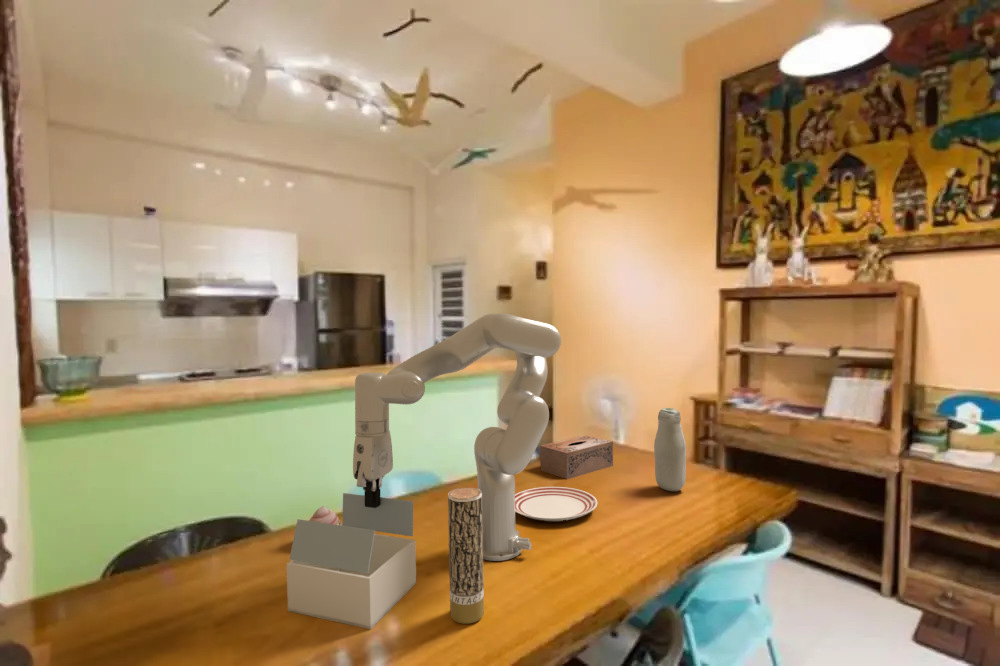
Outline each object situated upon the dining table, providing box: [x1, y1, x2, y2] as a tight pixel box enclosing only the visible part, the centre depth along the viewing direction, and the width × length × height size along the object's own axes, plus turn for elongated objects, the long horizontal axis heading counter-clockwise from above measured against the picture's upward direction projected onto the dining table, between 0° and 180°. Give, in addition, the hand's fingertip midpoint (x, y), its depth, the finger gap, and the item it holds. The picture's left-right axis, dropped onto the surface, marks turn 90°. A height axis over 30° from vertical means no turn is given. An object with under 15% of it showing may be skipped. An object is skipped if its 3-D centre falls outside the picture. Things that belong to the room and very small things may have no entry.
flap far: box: [341, 492, 414, 537], centre depth 119 cm, size 19×8×1 cm
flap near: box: [289, 519, 376, 573], centre depth 104 cm, size 19×8×1 cm
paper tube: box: [447, 487, 485, 625], centre depth 103 cm, size 7×7×25 cm
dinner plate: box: [515, 486, 598, 522], centre depth 159 cm, size 28×27×3 cm
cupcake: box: [308, 505, 343, 526], centre depth 138 cm, size 9×9×10 cm
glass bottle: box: [653, 407, 687, 493], centre depth 174 cm, size 10×10×28 cm
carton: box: [286, 533, 417, 630], centre depth 111 cm, size 20×18×10 cm
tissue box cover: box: [539, 434, 614, 480], centre depth 202 cm, size 26×14×10 cm, turn 128°
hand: (372, 506), depth 118 cm, fingers closed
